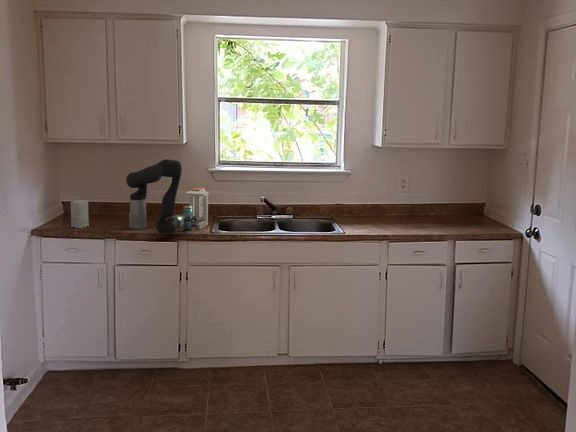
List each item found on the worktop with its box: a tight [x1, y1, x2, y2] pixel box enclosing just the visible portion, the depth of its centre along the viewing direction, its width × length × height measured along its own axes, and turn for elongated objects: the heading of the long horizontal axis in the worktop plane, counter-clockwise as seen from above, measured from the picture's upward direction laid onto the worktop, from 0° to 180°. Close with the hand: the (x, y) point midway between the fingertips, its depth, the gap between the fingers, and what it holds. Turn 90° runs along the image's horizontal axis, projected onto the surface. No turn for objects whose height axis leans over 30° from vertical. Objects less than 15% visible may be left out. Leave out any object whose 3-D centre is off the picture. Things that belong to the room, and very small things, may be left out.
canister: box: [183, 205, 193, 232], centre depth 344 cm, size 5×5×14 cm
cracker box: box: [190, 186, 208, 219], centre depth 376 cm, size 14×6×21 cm, turn 168°
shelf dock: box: [181, 190, 210, 230], centre depth 355 cm, size 16×12×21 cm
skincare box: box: [70, 199, 90, 229], centre depth 342 cm, size 8×7×16 cm
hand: (187, 217), depth 343 cm, fingers open, 8 cm apart
